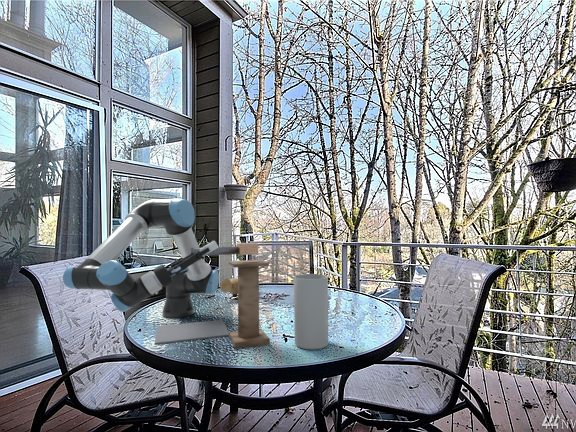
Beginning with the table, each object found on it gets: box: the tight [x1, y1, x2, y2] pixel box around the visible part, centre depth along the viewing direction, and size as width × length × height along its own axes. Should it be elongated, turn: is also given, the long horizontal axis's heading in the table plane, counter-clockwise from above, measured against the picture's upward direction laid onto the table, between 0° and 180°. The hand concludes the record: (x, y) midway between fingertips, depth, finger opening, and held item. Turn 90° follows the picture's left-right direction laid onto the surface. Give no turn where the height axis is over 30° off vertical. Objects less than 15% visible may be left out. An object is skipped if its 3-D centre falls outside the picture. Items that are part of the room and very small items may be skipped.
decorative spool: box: [219, 277, 238, 298], centre depth 206 cm, size 10×12×30 cm
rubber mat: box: [154, 319, 230, 345], centre depth 140 cm, size 22×28×1 cm
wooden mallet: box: [190, 242, 259, 257], centre depth 126 cm, size 24×7×4 cm, turn 109°
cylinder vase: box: [293, 273, 329, 351], centre depth 124 cm, size 12×12×25 cm
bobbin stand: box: [228, 259, 271, 349], centre depth 129 cm, size 13×13×30 cm
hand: (216, 243), depth 125 cm, fingers closed on wooden mallet, 3 cm apart
